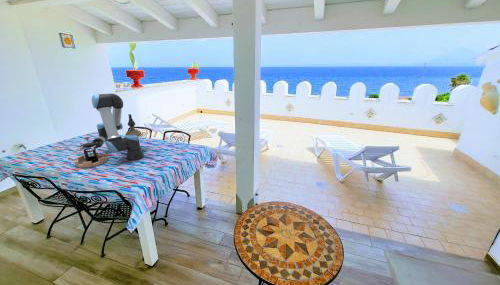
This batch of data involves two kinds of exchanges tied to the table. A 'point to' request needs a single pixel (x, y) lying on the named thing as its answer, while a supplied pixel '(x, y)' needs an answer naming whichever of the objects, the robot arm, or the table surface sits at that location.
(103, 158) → the castellated ring
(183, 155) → the table surface
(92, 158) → the french press
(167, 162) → the table surface
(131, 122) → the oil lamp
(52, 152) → the table surface
